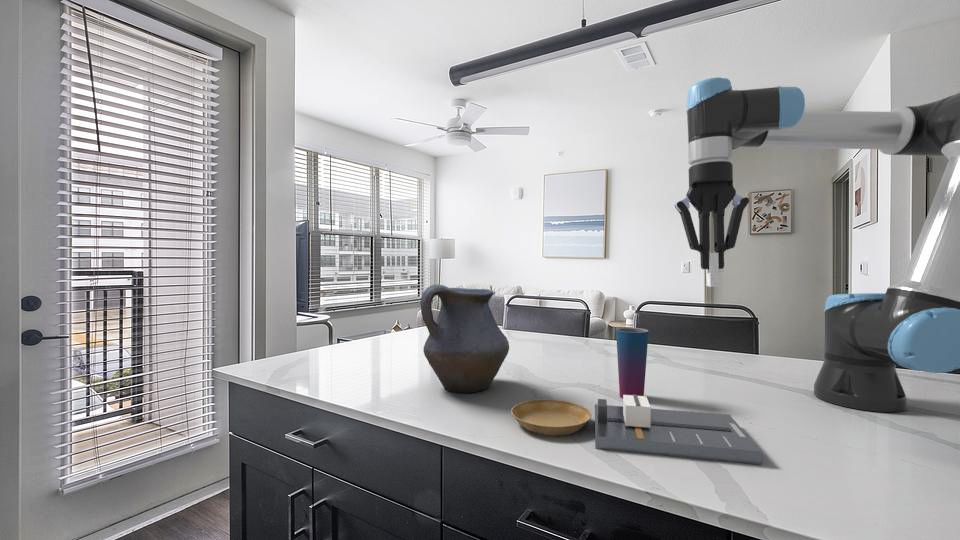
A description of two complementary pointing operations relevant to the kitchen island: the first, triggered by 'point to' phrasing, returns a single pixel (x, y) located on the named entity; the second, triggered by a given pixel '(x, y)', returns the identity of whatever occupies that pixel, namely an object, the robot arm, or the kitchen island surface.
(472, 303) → the pitcher
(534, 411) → the plant saucer
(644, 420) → the fader
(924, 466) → the kitchen island surface
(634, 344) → the cup
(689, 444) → the console
